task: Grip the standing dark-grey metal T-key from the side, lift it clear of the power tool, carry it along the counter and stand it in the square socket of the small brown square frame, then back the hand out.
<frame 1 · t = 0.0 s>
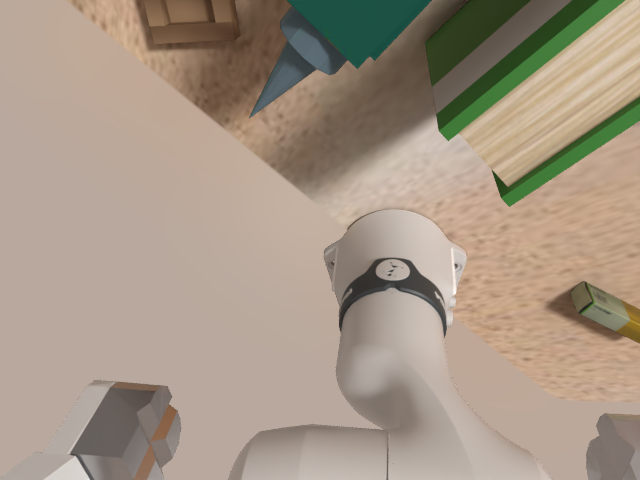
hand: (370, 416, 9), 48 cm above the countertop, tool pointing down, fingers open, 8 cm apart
hardback book: (521, 3, 47), on the countertop
medication box: (610, 303, 66), on the countertop
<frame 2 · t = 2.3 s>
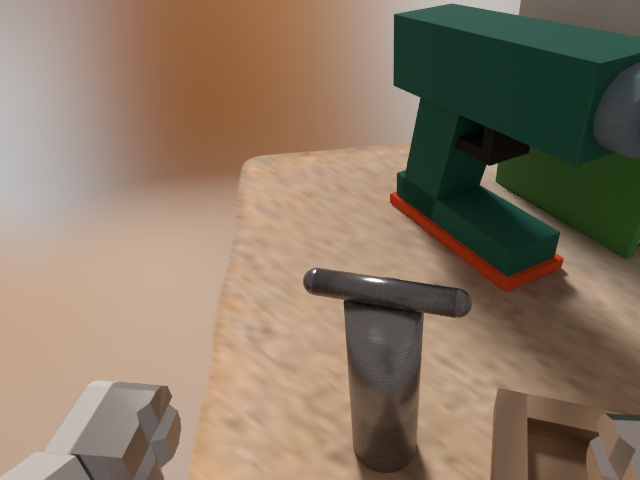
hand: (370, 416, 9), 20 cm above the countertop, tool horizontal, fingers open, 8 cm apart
hardback book: (578, 207, 53), on the countertop
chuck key: (384, 442, 31), on the countertop
power tool: (515, 266, 45), on the countertop
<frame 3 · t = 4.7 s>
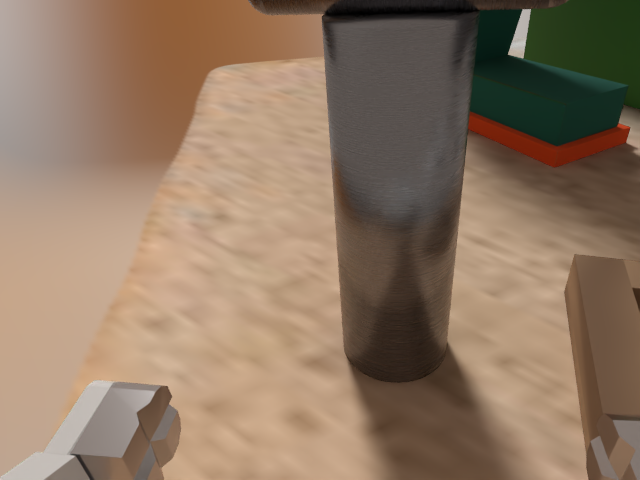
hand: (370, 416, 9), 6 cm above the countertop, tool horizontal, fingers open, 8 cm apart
hardback book: (632, 90, 41), on the countertop
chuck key: (394, 341, 19), on the countertop
power tool: (562, 144, 34), on the countertop
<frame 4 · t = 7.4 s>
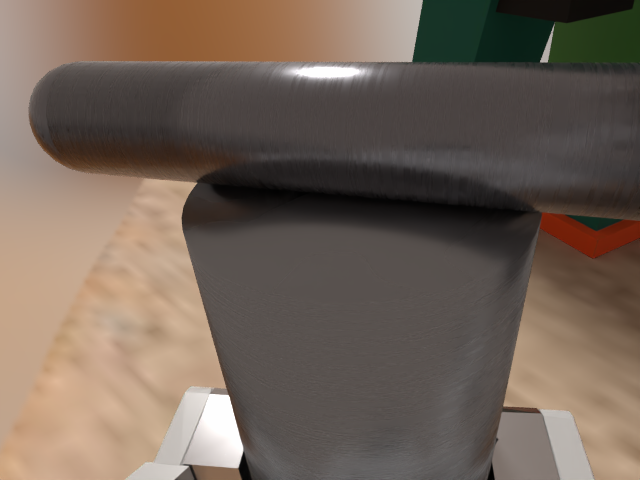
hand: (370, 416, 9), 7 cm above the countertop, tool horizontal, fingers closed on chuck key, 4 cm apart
power tool: (599, 218, 27), on the countertop
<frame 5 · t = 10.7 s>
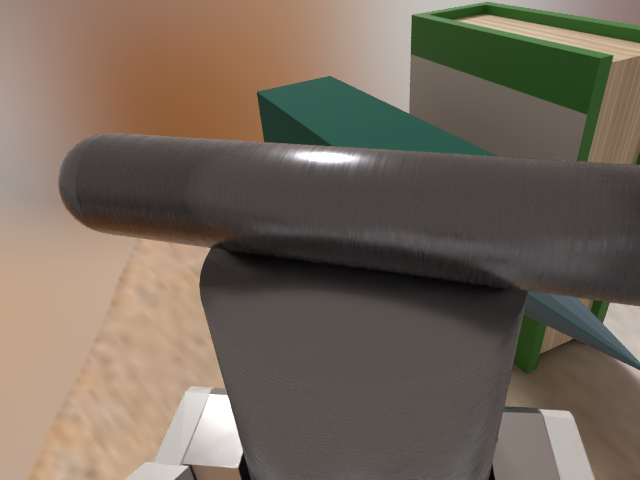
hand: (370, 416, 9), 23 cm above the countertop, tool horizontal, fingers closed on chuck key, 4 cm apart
hardback book: (489, 296, 47), on the countertop
power tool: (400, 380, 39), on the countertop
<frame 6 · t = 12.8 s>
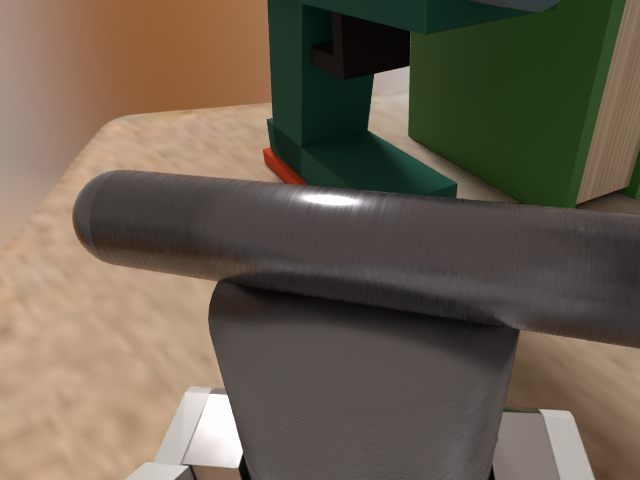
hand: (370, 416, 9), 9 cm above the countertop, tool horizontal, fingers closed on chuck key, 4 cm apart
hardback book: (508, 163, 39), on the countertop
power tool: (402, 237, 31), on the countertop
when the fingers open (8 cm above the countertop, at t = 14.0 s): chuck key stays where it is, resting on brown square frame.
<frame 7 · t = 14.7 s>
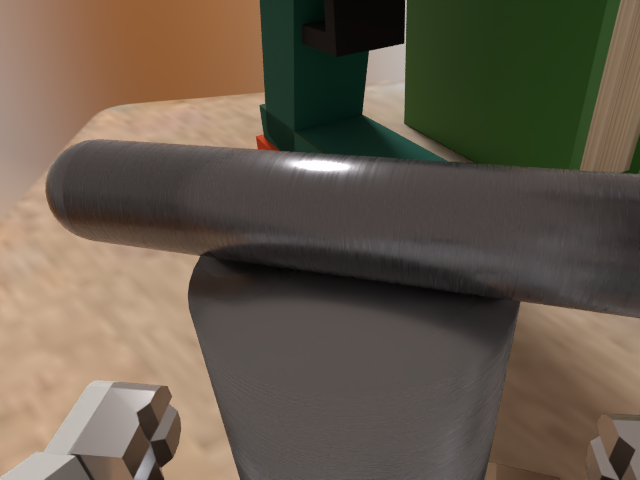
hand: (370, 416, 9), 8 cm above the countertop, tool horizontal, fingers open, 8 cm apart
hardback book: (506, 149, 38), on the countertop
power tool: (398, 221, 31), on the countertop
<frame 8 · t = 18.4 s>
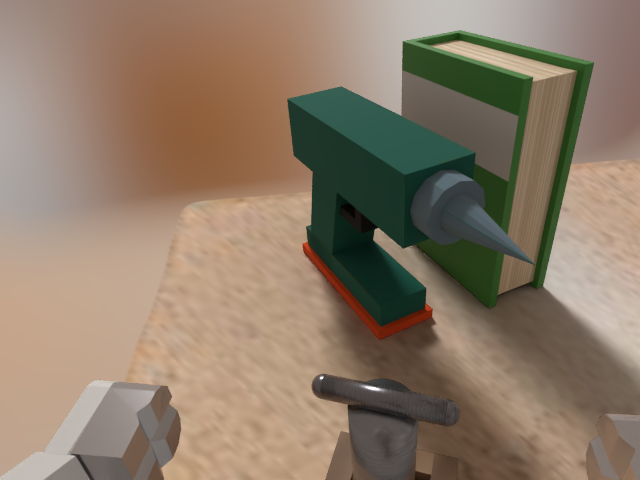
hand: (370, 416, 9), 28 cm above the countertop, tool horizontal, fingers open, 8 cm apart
hardback book: (464, 256, 60), on the countertop
power tool: (395, 314, 52), on the countertop
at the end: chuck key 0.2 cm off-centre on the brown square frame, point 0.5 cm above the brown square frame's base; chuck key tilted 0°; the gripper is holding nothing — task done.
